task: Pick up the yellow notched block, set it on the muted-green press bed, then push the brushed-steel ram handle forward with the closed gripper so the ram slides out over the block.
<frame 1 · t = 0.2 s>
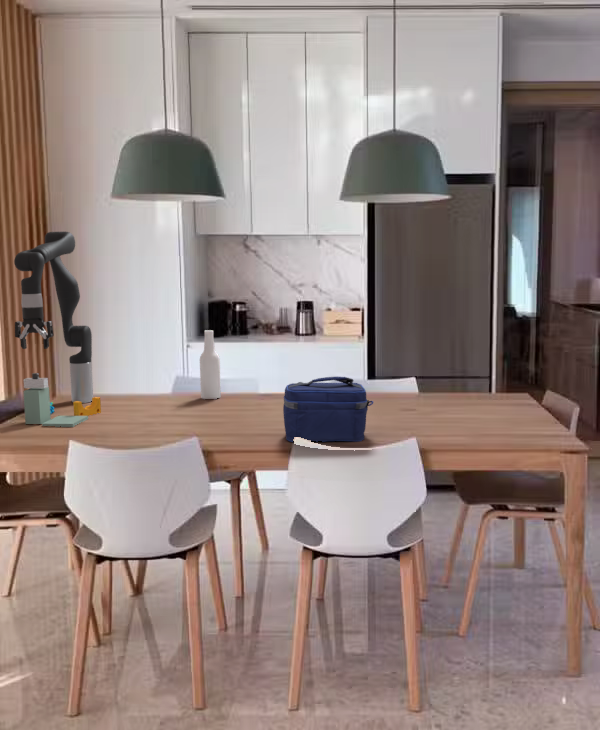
hand: (35, 348, 303), 28 cm above the table, tool pointing down, fingers open, 8 cm apart
ram: (35, 380, 305), point 16 cm above the table, slide at 0.0 cm
alcohol: (210, 398, 353), on the table
yellow notched block: (86, 415, 320), on the table
press: (48, 422, 306), on the table
gear: (45, 414, 324), on the table
lunch bag: (325, 436, 277), on the table
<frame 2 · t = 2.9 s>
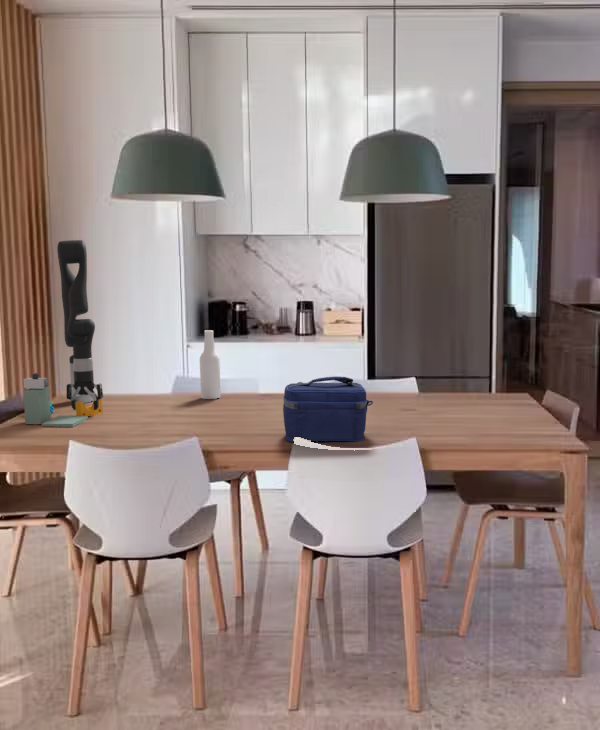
hand: (85, 409, 319), 2 cm above the table, tool pointing down, fingers open, 8 cm apart
yellow notched block: (88, 416, 319), on the table
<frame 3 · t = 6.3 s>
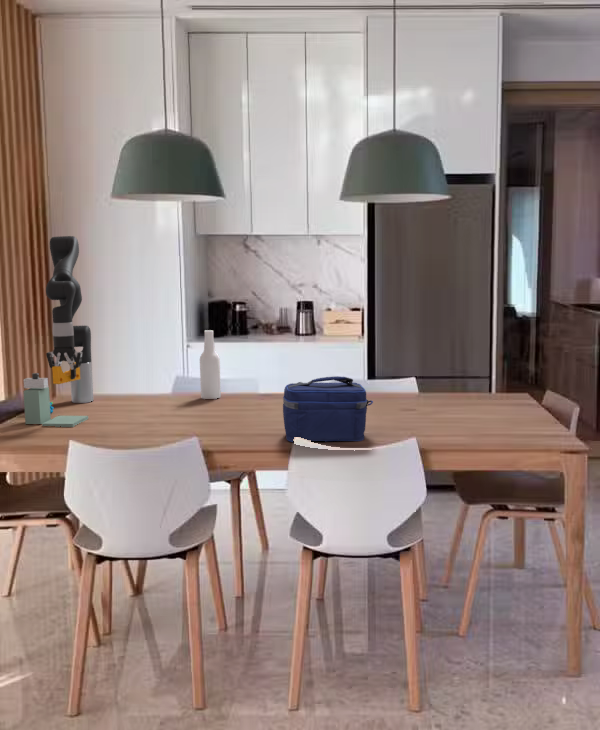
hand: (65, 378, 303), 17 cm above the table, tool pointing down, fingers closed on yellow notched block, 5 cm apart
yellow notched block: (65, 381, 303), point 16 cm above the table, touching gripper
when the fingers open (3 cm above the table, at t = 9.3 s): yellow notched block stays where it is, resting on press.
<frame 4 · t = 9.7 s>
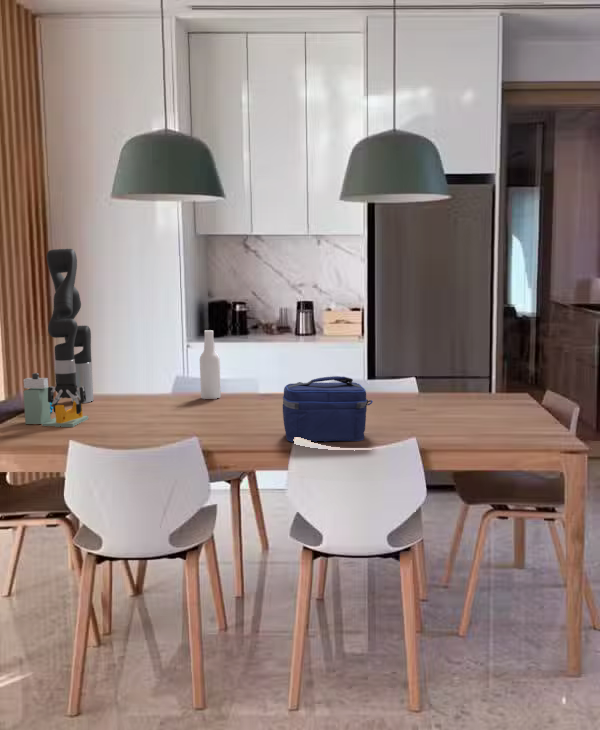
hand: (67, 413, 305), 4 cm above the table, tool pointing down, fingers open, 8 cm apart
yellow notched block: (67, 420, 305), point 1 cm above the table, touching press
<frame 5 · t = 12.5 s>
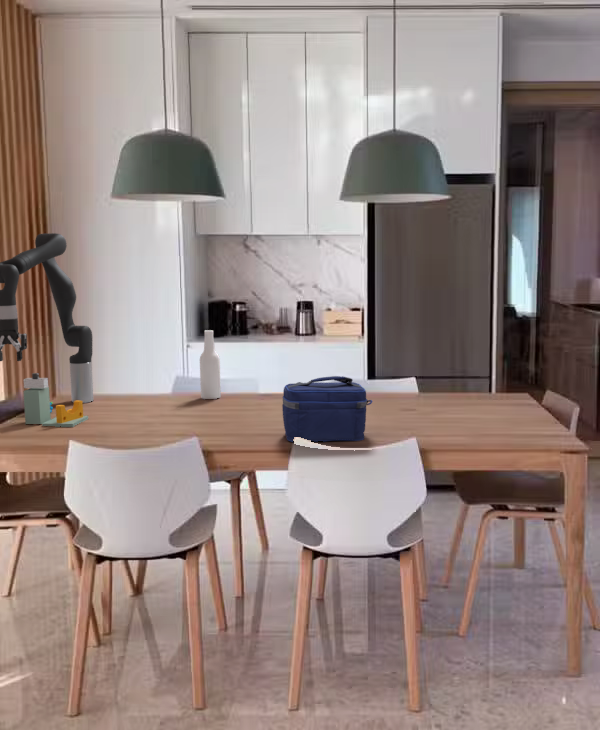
hand: (9, 360, 305), 24 cm above the table, tool pointing down, fingers open, 7 cm apart
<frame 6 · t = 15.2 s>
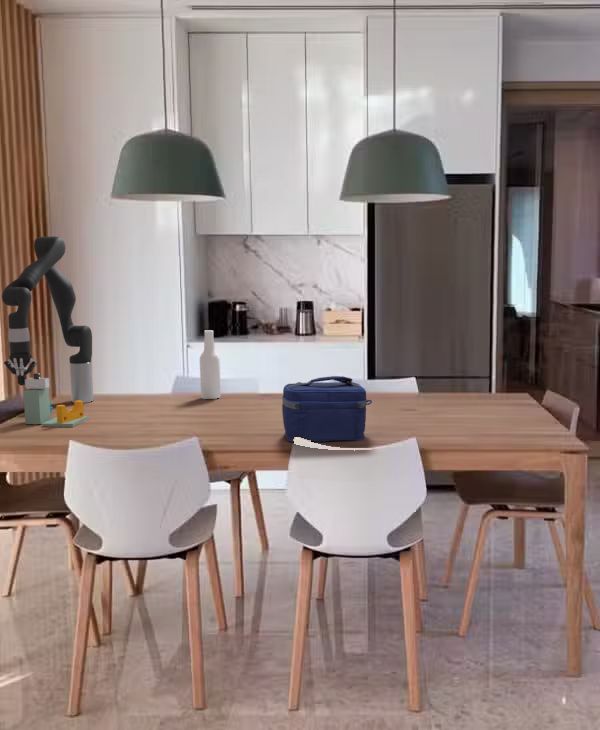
hand: (22, 385, 306), 14 cm above the table, tool pointing down, fingers closed
ram: (37, 380, 305), point 16 cm above the table, slide at 0.6 cm, touching gripper
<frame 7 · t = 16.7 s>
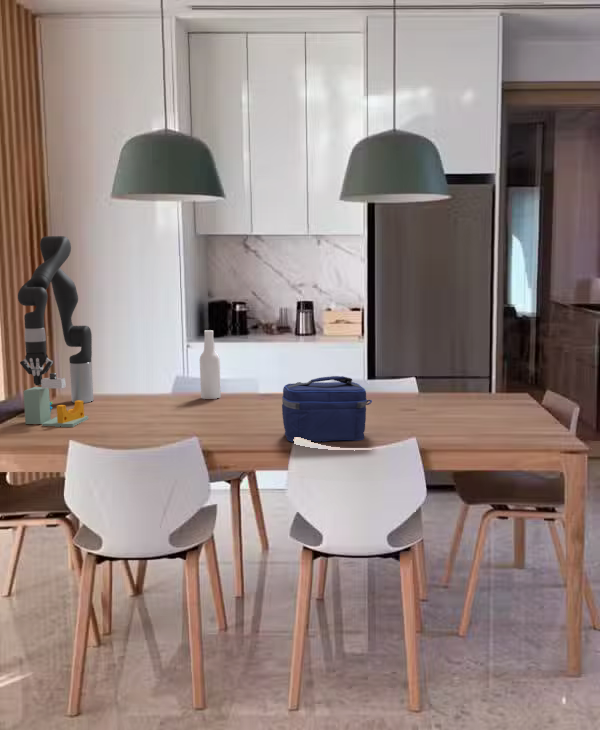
hand: (38, 385, 305), 14 cm above the table, tool pointing down, fingers closed
ram: (53, 380, 304), point 16 cm above the table, slide at 7.0 cm, touching gripper
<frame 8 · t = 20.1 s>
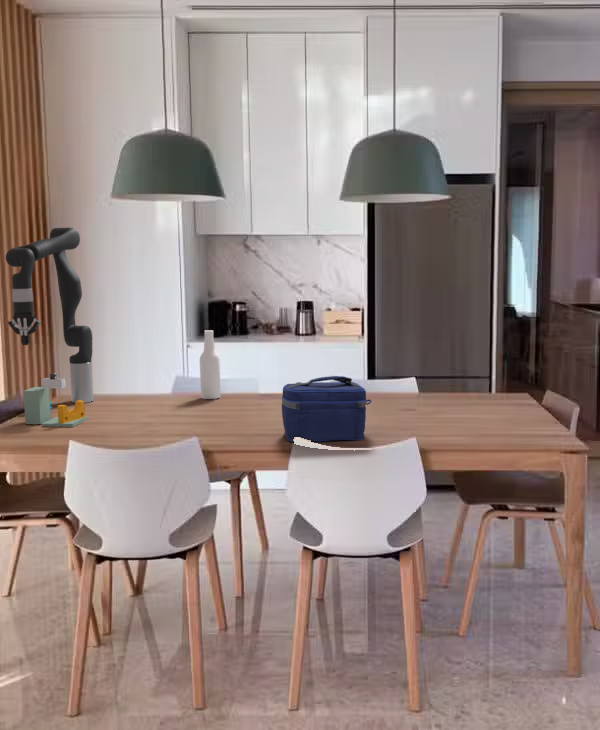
hand: (25, 344, 312), 29 cm above the table, tool pointing down, fingers closed
ram: (53, 380, 304), point 16 cm above the table, slide at 7.0 cm
at the end: yellow notched block inside the target area (1.8 cm from its centre), point 1.0 cm above the table; ram slide at 7.0 cm; the gripper is holding nothing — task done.
